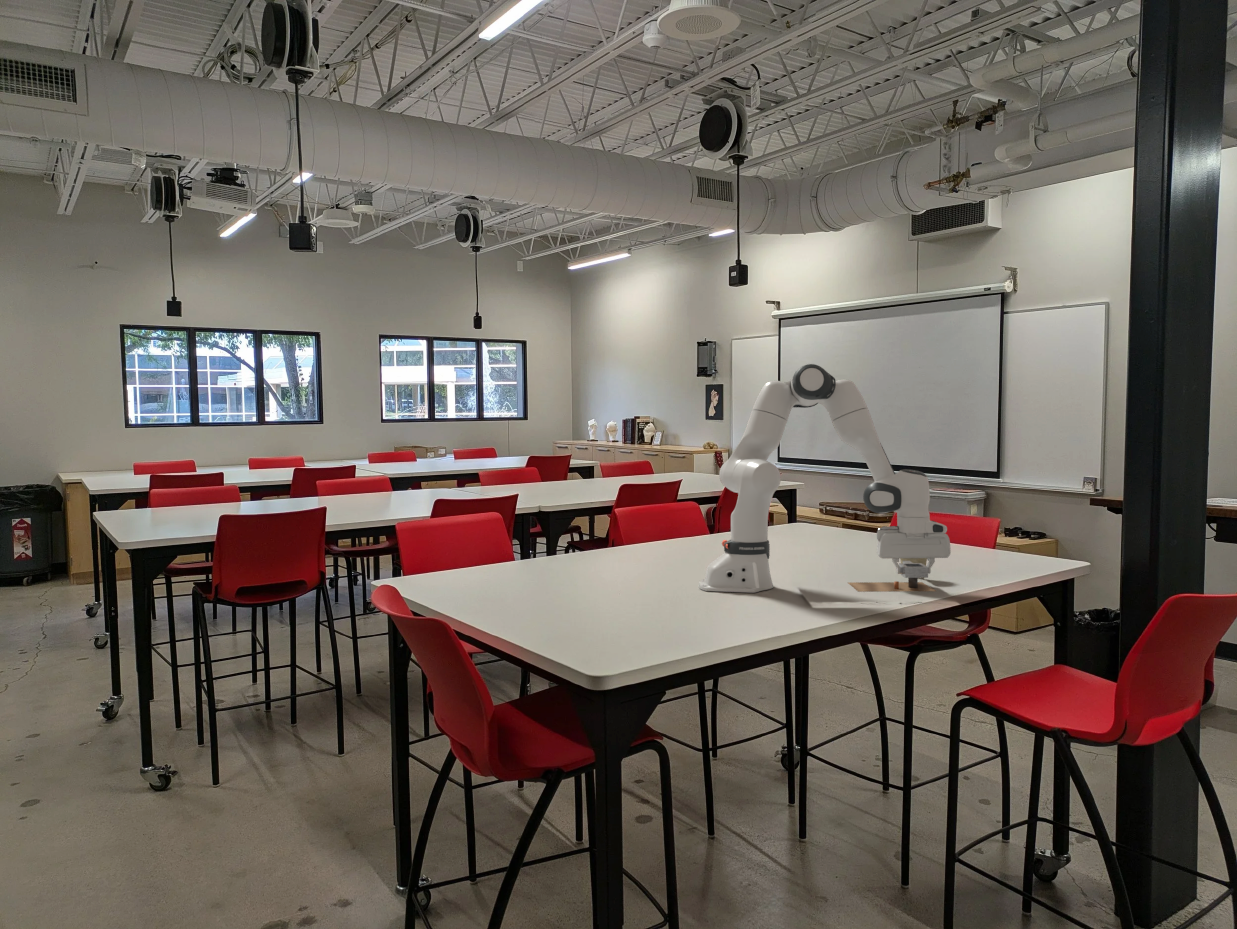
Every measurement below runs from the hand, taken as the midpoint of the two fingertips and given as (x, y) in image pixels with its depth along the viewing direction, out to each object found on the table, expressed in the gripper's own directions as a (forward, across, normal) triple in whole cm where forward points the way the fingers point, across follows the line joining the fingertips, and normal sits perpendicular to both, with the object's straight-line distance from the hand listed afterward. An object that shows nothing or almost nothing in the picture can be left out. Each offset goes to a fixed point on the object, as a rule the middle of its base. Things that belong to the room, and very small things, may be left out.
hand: (913, 573), depth 235 cm
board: (+6, -6, +1) cm, 8 cm away
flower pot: (+6, +6, +19) cm, 20 cm away
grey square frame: (+1, 0, +2) cm, 2 cm away
